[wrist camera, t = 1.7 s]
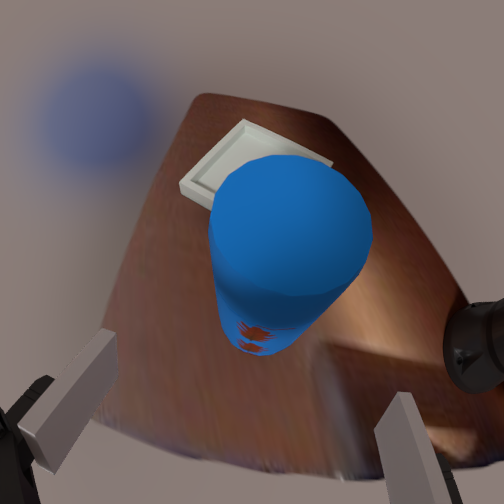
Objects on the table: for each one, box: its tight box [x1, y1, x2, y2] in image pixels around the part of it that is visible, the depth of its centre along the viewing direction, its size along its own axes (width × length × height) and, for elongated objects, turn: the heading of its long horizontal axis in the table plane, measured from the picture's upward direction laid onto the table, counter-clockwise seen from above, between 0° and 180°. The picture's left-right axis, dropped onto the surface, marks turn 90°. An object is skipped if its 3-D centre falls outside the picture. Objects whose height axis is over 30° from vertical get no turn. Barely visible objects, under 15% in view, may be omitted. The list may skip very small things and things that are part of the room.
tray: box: [179, 119, 333, 211], centre depth 51 cm, size 18×18×3 cm
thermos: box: [208, 155, 373, 356], centre depth 31 cm, size 11×11×25 cm
